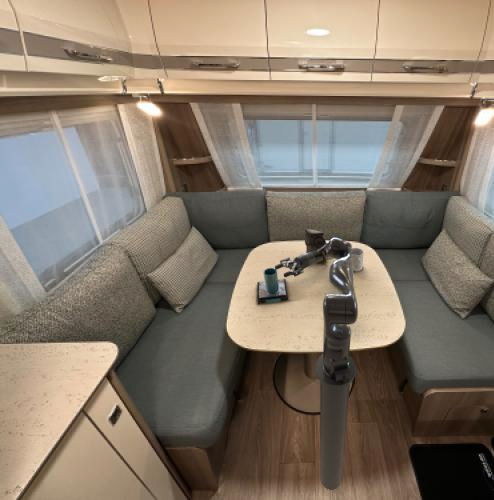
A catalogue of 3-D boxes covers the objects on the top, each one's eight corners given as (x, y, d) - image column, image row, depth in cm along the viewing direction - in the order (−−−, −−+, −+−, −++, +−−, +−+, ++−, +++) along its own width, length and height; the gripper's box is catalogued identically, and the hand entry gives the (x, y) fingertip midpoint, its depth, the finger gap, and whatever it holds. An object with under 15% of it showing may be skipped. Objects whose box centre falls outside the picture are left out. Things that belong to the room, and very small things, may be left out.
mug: (346, 264, 161) (346, 248, 155) (359, 262, 162) (360, 247, 156) (351, 275, 150) (353, 259, 145) (366, 274, 152) (368, 257, 146)
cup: (279, 290, 134) (277, 274, 129) (265, 292, 133) (263, 276, 128) (278, 283, 140) (276, 267, 135) (265, 284, 139) (263, 268, 134)
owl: (328, 263, 161) (328, 233, 151) (307, 265, 159) (306, 235, 149) (324, 253, 172) (323, 224, 162) (304, 255, 170) (303, 226, 160)
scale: (288, 301, 133) (288, 296, 131) (257, 305, 130) (257, 300, 129) (285, 282, 146) (285, 277, 144) (257, 285, 143) (257, 280, 142)
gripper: (297, 249, 146) (271, 259, 138) (313, 260, 137) (286, 272, 128) (298, 261, 150) (273, 271, 142) (313, 272, 141) (287, 284, 132)
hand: (279, 271), depth 135 cm, fingers open, 8 cm apart
